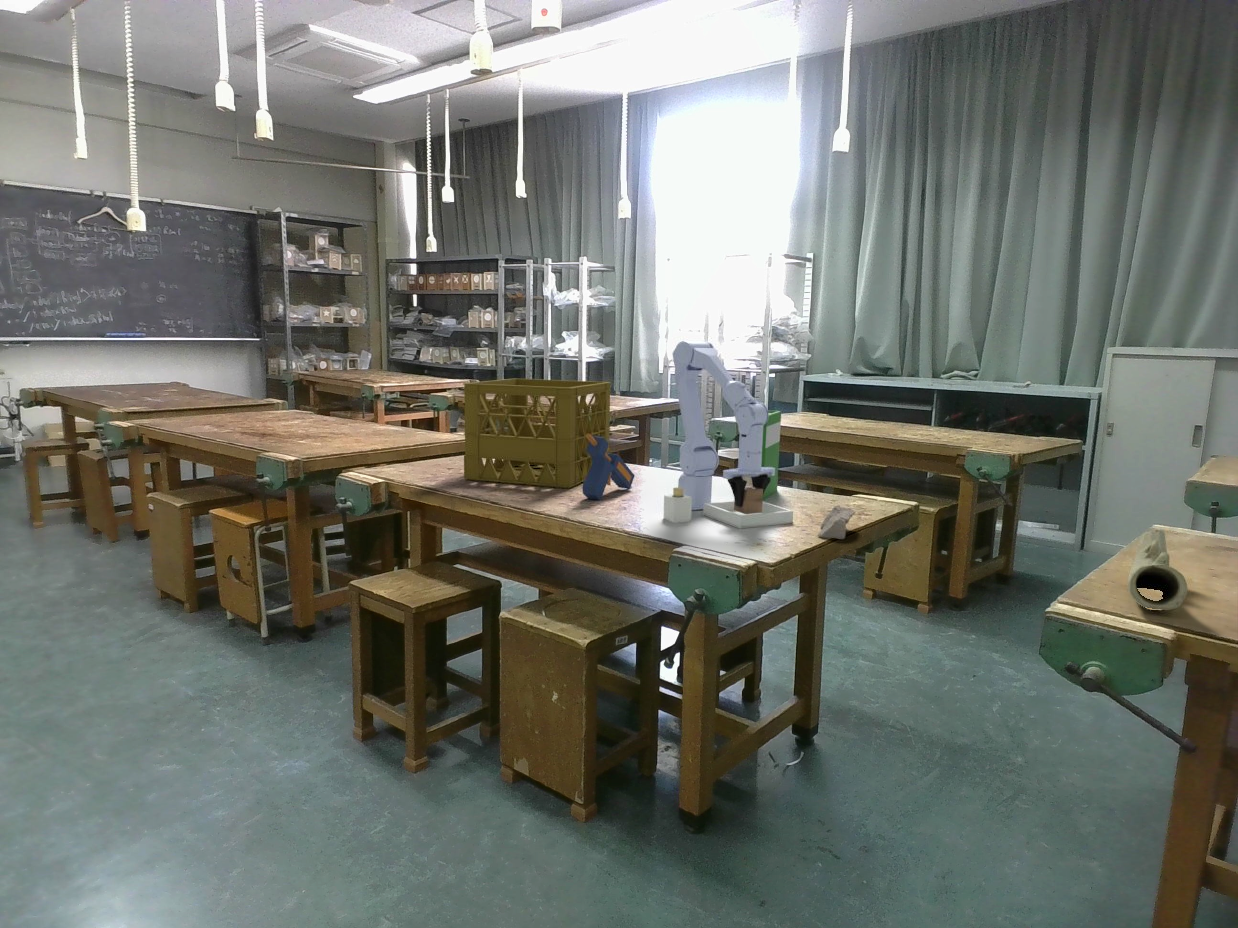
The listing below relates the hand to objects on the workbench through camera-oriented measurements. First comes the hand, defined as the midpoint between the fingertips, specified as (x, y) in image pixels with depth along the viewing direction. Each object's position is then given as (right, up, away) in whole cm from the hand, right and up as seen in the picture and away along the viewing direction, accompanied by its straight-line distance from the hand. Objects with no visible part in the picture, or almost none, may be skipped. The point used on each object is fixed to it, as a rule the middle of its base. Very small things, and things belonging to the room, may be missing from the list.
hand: (747, 505), depth 199 cm
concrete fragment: (+19, -6, -12) cm, 23 cm away
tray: (0, -3, +1) cm, 3 cm away
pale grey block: (-18, -4, -2) cm, 18 cm away
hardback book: (+8, +1, +32) cm, 34 cm away
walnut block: (0, -2, 0) cm, 2 cm away
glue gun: (-35, +1, +28) cm, 45 cm away
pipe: (+65, -14, -53) cm, 85 cm away
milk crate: (-58, +6, +56) cm, 81 cm away
